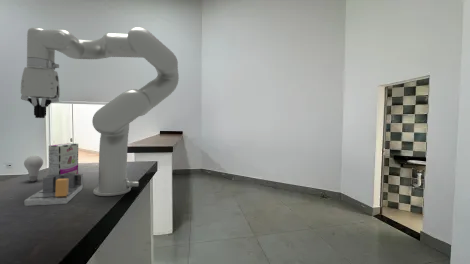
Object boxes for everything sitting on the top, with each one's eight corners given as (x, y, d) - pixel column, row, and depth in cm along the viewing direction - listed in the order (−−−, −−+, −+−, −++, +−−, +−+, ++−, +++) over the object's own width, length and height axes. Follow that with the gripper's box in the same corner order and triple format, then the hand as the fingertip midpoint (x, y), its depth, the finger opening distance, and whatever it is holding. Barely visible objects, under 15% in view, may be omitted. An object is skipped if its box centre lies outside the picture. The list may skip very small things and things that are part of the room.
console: (82, 188, 93) (83, 170, 93) (66, 203, 76) (67, 181, 76) (49, 189, 89) (49, 171, 89) (24, 206, 72) (24, 183, 72)
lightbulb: (21, 183, 95) (21, 156, 95) (27, 180, 101) (27, 154, 101) (39, 183, 98) (40, 156, 97) (44, 179, 103) (45, 154, 103)
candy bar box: (67, 179, 105) (68, 142, 105) (78, 180, 105) (79, 143, 105) (47, 186, 94) (47, 145, 94) (59, 186, 94) (60, 145, 93)
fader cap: (68, 193, 79) (68, 178, 78) (65, 196, 76) (66, 180, 76) (58, 194, 78) (58, 178, 77) (55, 196, 75) (55, 180, 75)
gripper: (69, 70, 89) (68, 119, 90) (20, 65, 84) (19, 117, 85) (62, 66, 82) (61, 118, 82) (8, 60, 77) (7, 116, 78)
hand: (40, 117), depth 84 cm, fingers closed
